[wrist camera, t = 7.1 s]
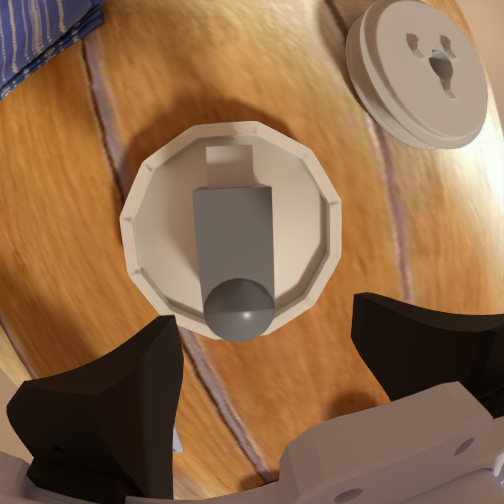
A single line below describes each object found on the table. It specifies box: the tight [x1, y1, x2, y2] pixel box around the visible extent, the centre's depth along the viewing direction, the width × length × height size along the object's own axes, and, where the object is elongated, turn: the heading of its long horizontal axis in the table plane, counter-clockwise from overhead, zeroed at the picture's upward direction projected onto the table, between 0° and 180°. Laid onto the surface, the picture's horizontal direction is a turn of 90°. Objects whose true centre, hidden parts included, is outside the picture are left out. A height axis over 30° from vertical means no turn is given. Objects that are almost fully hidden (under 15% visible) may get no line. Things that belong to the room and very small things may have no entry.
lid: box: [345, 0, 488, 150], centre depth 16 cm, size 13×13×5 cm
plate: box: [119, 121, 341, 339], centre depth 19 cm, size 14×14×2 cm
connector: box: [192, 145, 275, 342], centre depth 17 cm, size 4×10×4 cm, turn 2°
